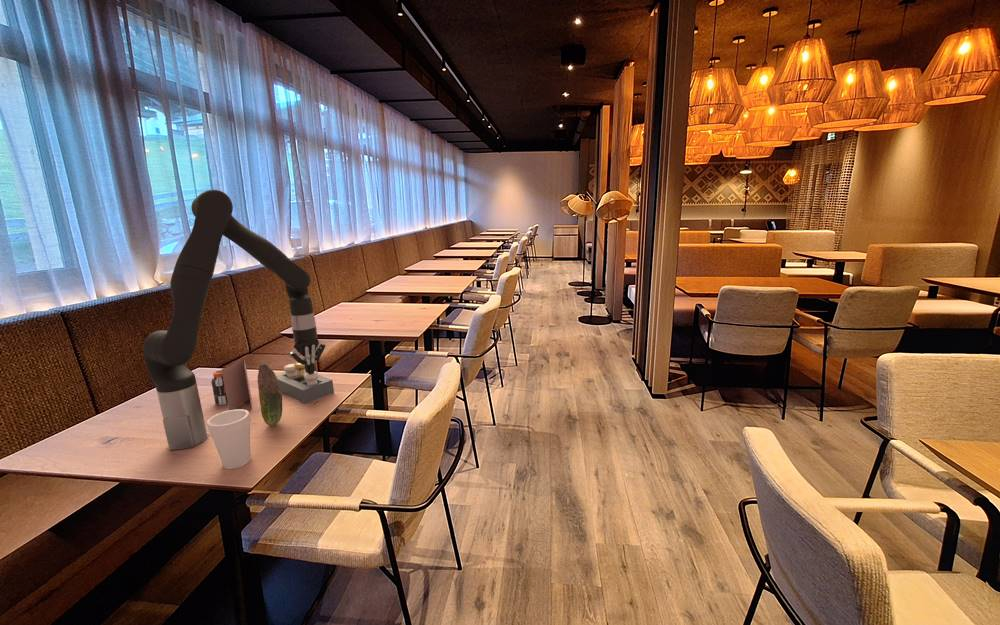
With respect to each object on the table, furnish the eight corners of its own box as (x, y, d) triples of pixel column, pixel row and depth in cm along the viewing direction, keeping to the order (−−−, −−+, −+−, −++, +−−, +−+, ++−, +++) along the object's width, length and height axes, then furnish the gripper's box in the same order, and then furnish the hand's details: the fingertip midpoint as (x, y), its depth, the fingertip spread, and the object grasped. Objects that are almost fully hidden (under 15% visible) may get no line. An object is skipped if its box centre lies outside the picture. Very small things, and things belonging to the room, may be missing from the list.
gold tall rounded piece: (309, 379, 163) (307, 362, 161) (300, 383, 160) (297, 365, 158) (304, 377, 165) (301, 360, 163) (294, 380, 162) (292, 363, 161)
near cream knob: (322, 391, 159) (320, 372, 158) (310, 396, 156) (308, 376, 154) (316, 388, 162) (313, 370, 160) (304, 393, 158) (301, 374, 157)
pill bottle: (228, 405, 153) (222, 374, 151) (211, 405, 154) (205, 374, 151) (238, 398, 159) (233, 368, 157) (222, 398, 159) (216, 368, 157)
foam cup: (263, 452, 123) (255, 408, 120) (246, 471, 114) (237, 425, 111) (228, 453, 122) (220, 410, 119) (208, 473, 113) (198, 426, 110)
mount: (334, 392, 161) (332, 379, 160) (305, 403, 152) (303, 390, 151) (302, 380, 174) (300, 367, 173) (274, 389, 166) (272, 376, 165)
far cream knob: (302, 383, 168) (299, 365, 166) (290, 387, 164) (287, 369, 162) (296, 380, 170) (293, 363, 169) (284, 384, 167) (281, 366, 165)
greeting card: (249, 397, 159) (241, 357, 156) (268, 397, 159) (261, 357, 155) (227, 412, 148) (218, 369, 145) (248, 412, 148) (240, 369, 144)
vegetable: (262, 422, 140) (252, 362, 135) (284, 417, 143) (275, 358, 138) (264, 430, 135) (253, 368, 130) (287, 424, 138) (277, 363, 133)
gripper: (290, 332, 146) (298, 381, 150) (327, 323, 156) (333, 369, 160) (279, 329, 150) (287, 377, 154) (316, 320, 160) (322, 365, 164)
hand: (310, 373), depth 157 cm, fingers closed
